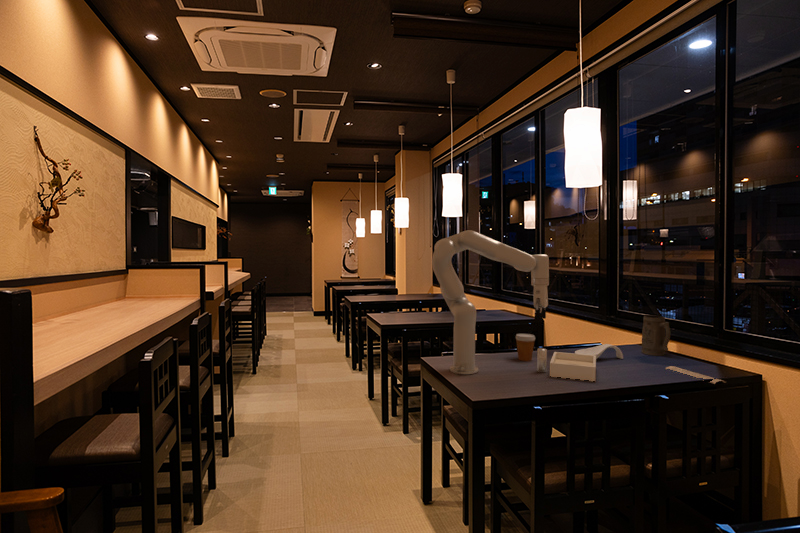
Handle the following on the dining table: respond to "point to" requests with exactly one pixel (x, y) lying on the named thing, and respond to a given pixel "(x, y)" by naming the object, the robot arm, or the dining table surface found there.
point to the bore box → (573, 366)
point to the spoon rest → (599, 351)
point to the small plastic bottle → (541, 360)
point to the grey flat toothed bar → (693, 374)
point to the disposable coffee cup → (525, 346)
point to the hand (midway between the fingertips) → (540, 320)
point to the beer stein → (655, 335)
